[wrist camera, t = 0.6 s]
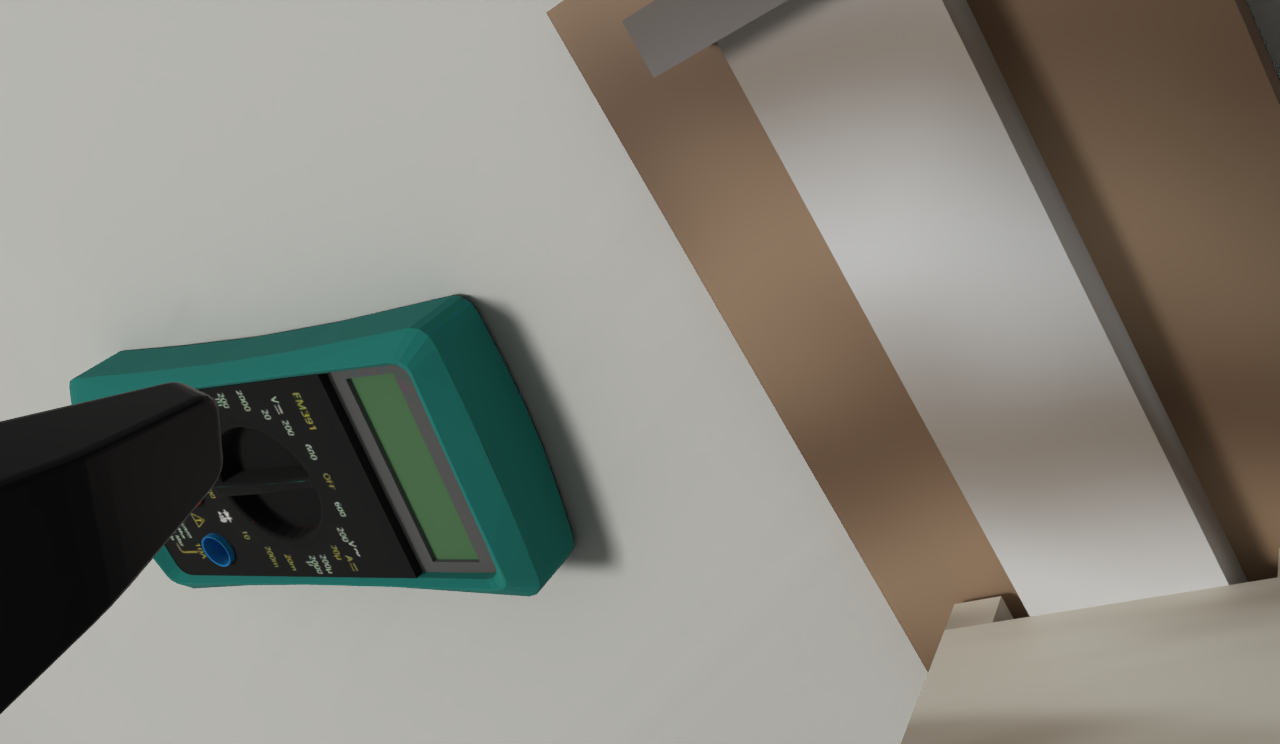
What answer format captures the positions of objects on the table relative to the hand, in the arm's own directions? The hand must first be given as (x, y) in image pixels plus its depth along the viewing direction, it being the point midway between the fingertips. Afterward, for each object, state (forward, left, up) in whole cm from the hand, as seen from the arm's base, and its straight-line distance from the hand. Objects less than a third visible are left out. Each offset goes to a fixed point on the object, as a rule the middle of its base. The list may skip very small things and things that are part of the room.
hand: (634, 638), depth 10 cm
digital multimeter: (-1, +20, -14) cm, 24 cm away
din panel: (-6, +1, -13) cm, 14 cm away
